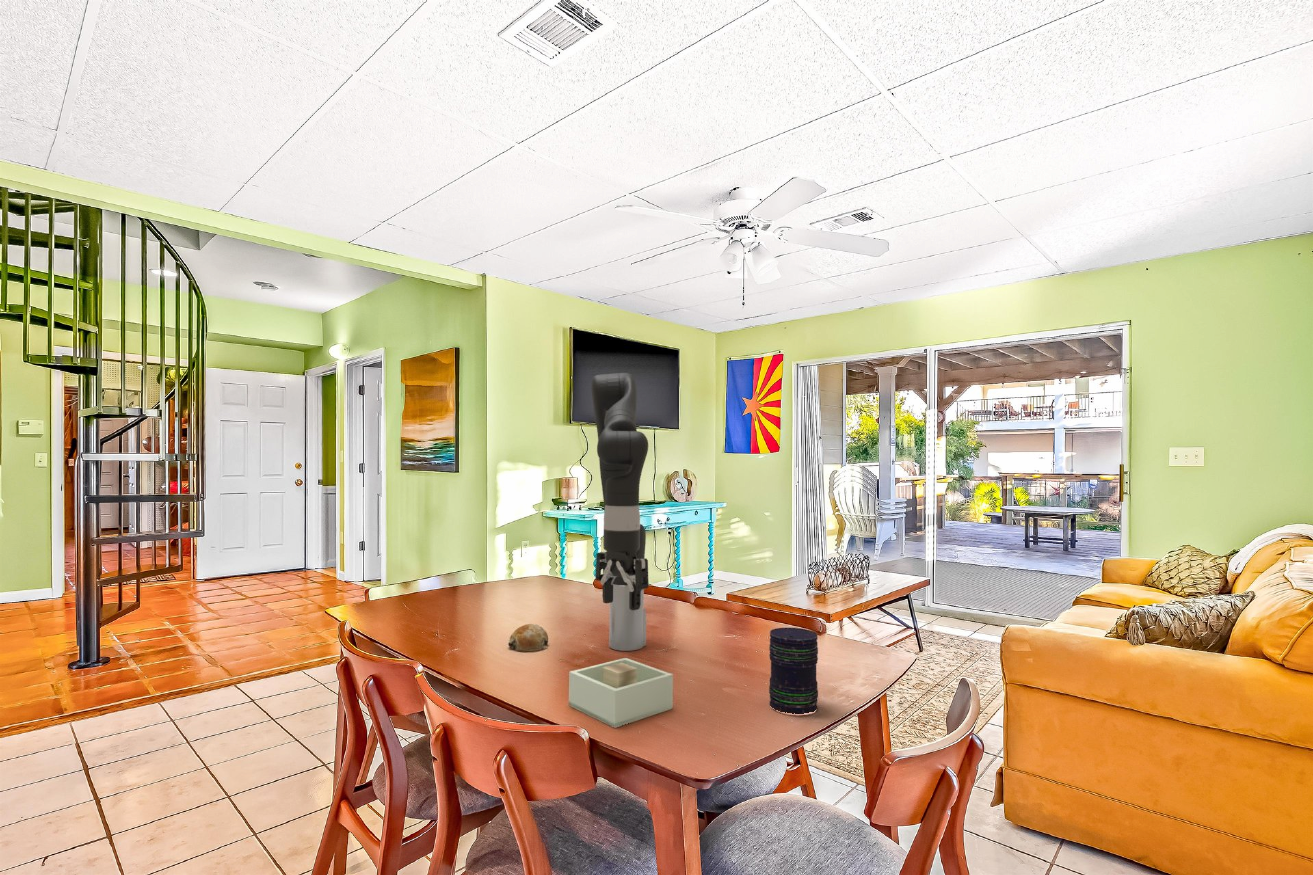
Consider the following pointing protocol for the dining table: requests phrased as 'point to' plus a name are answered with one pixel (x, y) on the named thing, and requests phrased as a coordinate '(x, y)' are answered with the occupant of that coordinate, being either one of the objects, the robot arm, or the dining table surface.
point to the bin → (621, 694)
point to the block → (619, 675)
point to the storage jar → (793, 670)
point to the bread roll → (529, 638)
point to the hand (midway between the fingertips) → (620, 606)
